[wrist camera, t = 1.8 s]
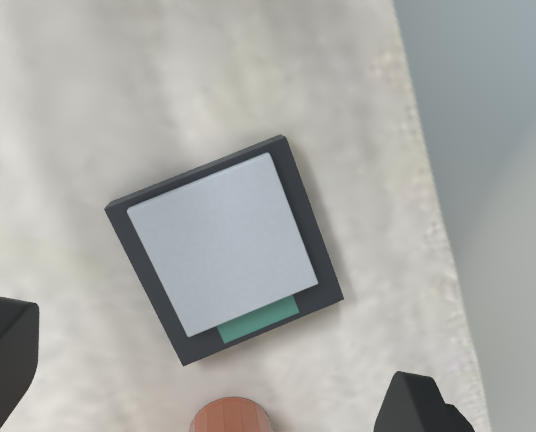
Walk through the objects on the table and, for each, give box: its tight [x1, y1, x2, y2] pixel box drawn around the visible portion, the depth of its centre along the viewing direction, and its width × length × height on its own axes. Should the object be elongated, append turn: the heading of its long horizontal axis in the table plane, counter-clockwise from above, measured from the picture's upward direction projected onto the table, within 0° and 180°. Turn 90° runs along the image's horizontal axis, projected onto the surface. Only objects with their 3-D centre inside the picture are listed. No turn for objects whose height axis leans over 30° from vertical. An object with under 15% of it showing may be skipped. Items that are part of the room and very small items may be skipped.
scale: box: [104, 135, 344, 366], centre depth 33 cm, size 13×13×3 cm
